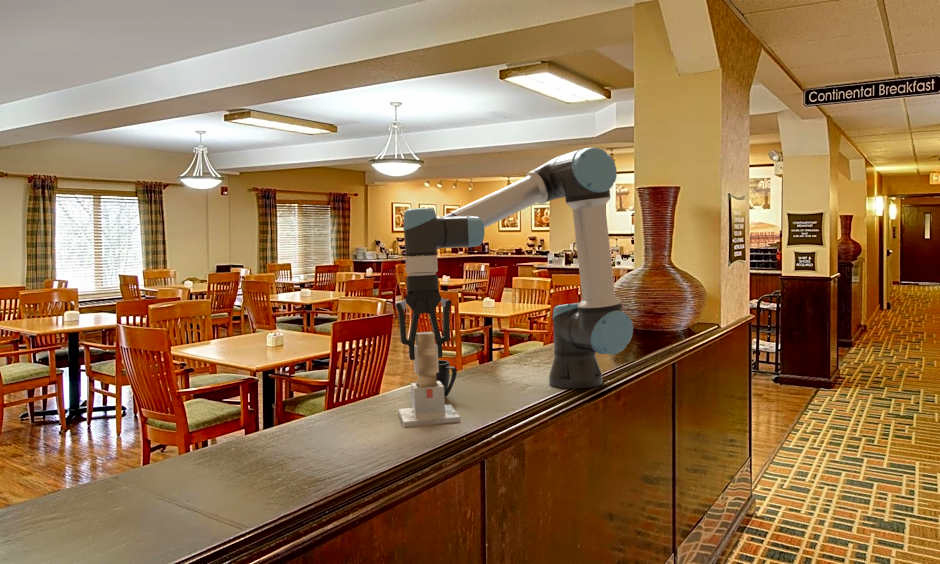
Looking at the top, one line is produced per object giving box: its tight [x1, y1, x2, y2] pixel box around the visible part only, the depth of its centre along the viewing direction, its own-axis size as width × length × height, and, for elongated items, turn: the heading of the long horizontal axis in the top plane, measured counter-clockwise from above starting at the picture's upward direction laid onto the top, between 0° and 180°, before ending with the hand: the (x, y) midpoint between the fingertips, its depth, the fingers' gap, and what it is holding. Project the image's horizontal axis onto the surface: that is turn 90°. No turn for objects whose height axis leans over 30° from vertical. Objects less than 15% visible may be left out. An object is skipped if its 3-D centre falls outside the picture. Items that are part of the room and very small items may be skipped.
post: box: [415, 331, 437, 387], centre depth 160 cm, size 4×4×19 cm
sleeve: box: [398, 381, 461, 428], centre depth 161 cm, size 13×13×8 cm
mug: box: [436, 359, 458, 398], centre depth 181 cm, size 8×12×10 cm
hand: (426, 372), depth 160 cm, fingers closed on post, 4 cm apart
